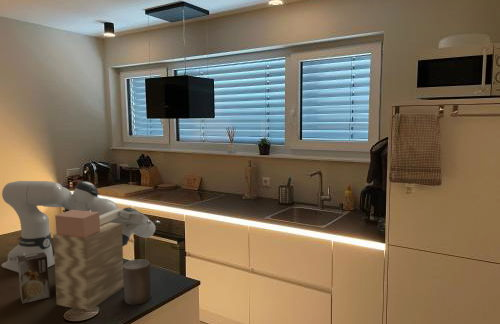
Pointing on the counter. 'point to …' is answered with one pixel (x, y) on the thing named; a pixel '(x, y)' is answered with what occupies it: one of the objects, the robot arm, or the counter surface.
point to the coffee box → (33, 277)
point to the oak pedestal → (88, 267)
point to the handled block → (82, 222)
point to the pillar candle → (137, 281)
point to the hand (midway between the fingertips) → (114, 212)
